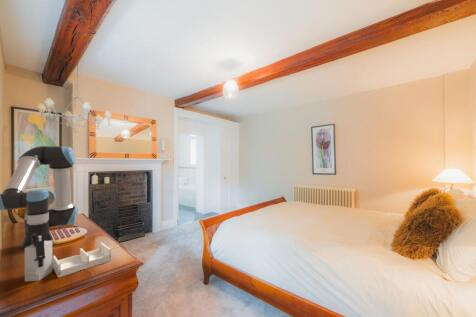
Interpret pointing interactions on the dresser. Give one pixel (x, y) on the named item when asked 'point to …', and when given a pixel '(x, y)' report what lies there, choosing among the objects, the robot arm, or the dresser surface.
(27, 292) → the dresser surface
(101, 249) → the caddy rack
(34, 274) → the skincare box
